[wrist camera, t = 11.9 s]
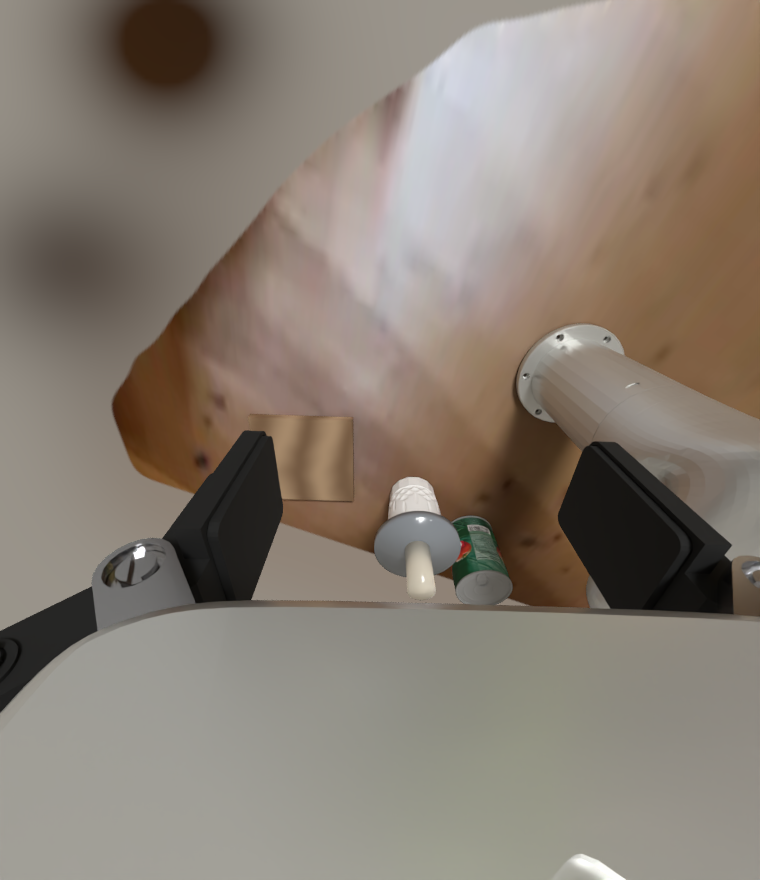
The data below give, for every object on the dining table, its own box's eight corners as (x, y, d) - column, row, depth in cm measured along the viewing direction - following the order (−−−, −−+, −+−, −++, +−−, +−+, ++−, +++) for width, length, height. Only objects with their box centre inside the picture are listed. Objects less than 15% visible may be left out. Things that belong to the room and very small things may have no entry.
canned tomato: (493, 545, 59) (514, 604, 50) (447, 552, 60) (459, 611, 51) (489, 511, 55) (511, 568, 46) (440, 519, 56) (452, 576, 47)
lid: (464, 511, 42) (478, 558, 36) (453, 571, 48) (464, 621, 41) (374, 510, 42) (372, 557, 36) (374, 570, 48) (372, 619, 42)
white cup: (413, 520, 56) (418, 571, 48) (376, 496, 54) (374, 545, 45) (447, 491, 53) (460, 540, 45) (409, 464, 51) (414, 510, 42)
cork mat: (353, 417, 47) (352, 420, 46) (354, 497, 54) (353, 501, 53) (250, 414, 47) (247, 417, 46) (264, 494, 54) (262, 498, 53)
